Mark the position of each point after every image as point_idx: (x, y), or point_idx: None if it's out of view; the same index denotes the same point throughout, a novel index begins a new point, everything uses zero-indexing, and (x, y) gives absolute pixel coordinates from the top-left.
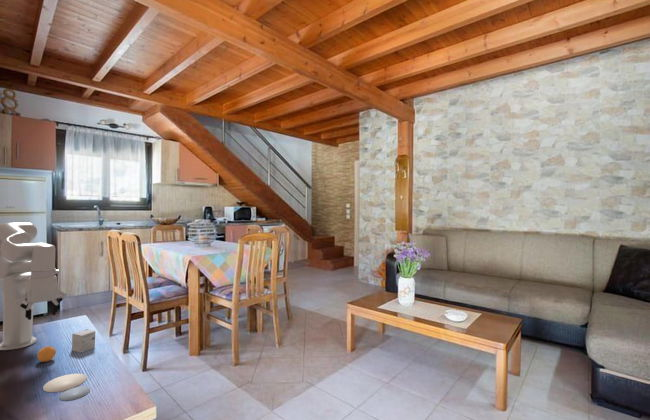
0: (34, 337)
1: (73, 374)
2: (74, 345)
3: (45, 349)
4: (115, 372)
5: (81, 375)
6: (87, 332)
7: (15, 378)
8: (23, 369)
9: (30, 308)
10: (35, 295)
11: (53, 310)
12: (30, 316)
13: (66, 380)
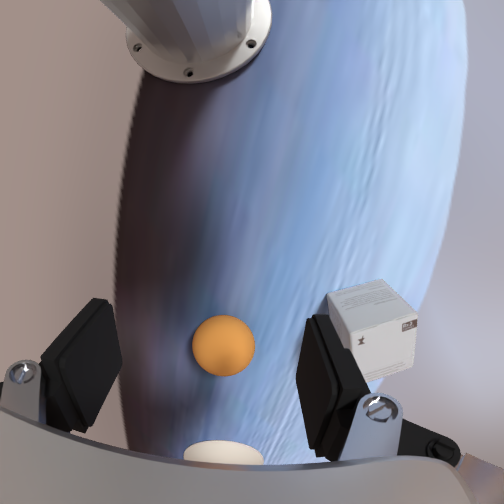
0: (267, 9)
1: (247, 448)
2: (334, 321)
3: (213, 372)
4: None
5: (257, 459)
6: (388, 366)
7: (137, 378)
8: (156, 339)
9: (72, 428)
10: None
11: (304, 412)
12: (107, 383)
13: (227, 458)
